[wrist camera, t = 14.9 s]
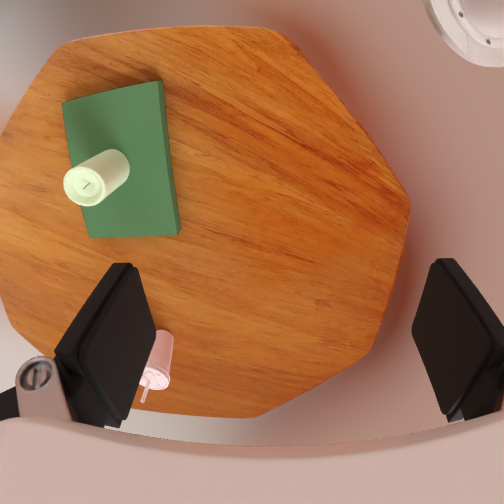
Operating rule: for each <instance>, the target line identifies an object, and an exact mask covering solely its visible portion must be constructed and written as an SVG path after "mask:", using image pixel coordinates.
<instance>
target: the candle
mask: <svg viewBox="0 0 504 504" xmlns="http://www.w3.org/2000/svg"><path fill="white" fill-rule="evenodd" d="M129 172H130V166H129V162H128V160H127V158H126V157H125V155H124V154H123V153H121V152H120V151H118V150H116V149H108V150H105V151H103V152H102V153H100V154H98V155H96V156H94V157H92V158H90V159H88V160H86V161H85V162H83V163H81V164H79V165H77V166H76V167H74V168H72V169H70V170H69V171H68V172H67V173H66V175H65V177H64V181H63V186H64V190H65V192H66V194H67V196H68V197H69V198H70V199H71V200H72V201H73V202H75V203H77V204H79V205H82V206H94V205H96V204H98V203H100V202H101V201H102V200H103V199H104V198H106V197H107V196H108V195H109V194H111V193H112V192H113V191H114V190H115V189H117V188H118V187H119V186H120V185H122V184H123V183H124V182H125V181H126V180H127V178H128V176H129Z"/></svg>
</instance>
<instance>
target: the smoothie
mask: <svg viewBox="0 0 504 504" xmlns="http://www.w3.org/2000/svg"><path fill="white" fill-rule="evenodd" d="M173 344H174V337H173V335H172V334H171V333H170V332H168V331H166V330H157V331H156V340H155V342H154V345H153V348H152V350H151V353H150V356H149V358H148V361H147V364H146V366H145V369H144V372H143V375H142V377H141V380H140V383H139V384H140V385H142V386H144V387H145V390H144V393H143V395H142V398H141V402H142V403H144V401H145V398H146V395H147V392H148V389H154V390H161V389H165V388H166V387H167V386H168V384H169V381H170V376H169V371H170V363H171V357H172V350H173Z"/></svg>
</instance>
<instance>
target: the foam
mask: <svg viewBox="0 0 504 504" xmlns="http://www.w3.org/2000/svg"><path fill="white" fill-rule="evenodd" d="M62 109H63V117H64V124H65V130H66V136H67V142H68V148H69V154H70V159H71V164H72V168H74V167H76V166H77V165H79V164H81V163H83V162H85V161H86V160H88V159H90V158H92V157H94V156H96V155H98V154H100V153H102V152H103V151H105V150H108V149H116V150H118V151H120V152H121V153H123V154H124V155H125V157H126V158H127V160H128V162H129V166H130V172H129V176H128V178H127V180H126V181H125V182H124V183H123V184H122V185H120V186H119V187H118V188H117V189H115V190H114V191H113V192H112V193H111V194H109V195H108V196H107V197H106V198H104V199H103V200H102V201H101V202H100V203H98V204H96V205H94V206H82V205H81V208H82V212H83V216H84V220H85V224H86V227H87V231H88V234H89V238H111V237H138V236H170V235H178V233H179V231H180V230H181V225H180V219H179V212H178V206H177V199H176V192H175V185H174V178H173V170H172V163H171V155H170V146H169V138H168V129H167V120H166V110H165V99H164V88H163V81H152V82H146V83H141V84H136V85H131V86H126V87H122V88H117V89H113V90H108V91H104V92H100V93H96V94H93V95H89V96H85V97H81V98H78V99H74V100H71V101H68V102H64V103H62Z"/></svg>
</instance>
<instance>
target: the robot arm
mask: <svg viewBox="0 0 504 504" xmlns="http://www.w3.org/2000/svg"><path fill="white" fill-rule="evenodd" d="M448 3H449V7H450V9H451V11H452V13H453V15H454V17H455V19H456V21H457V22H458V24H459V25H460V26H461V28H462V29H463V30H464V31H465V32H466V33H467V34H468V36H470V37H471V38H472V39H473V40H474V41H476V42H477V43H479V44H481V45H483V46H485V47H489V48H502V47H504V0H448ZM412 336H413V338H414V341H415V343H416V346H417V348H418V351H419V353H420V355H421V358H422V361H423V363H424V366H425V368H426V371H427V374H428V376H429V379H430V381H431V384H432V387H433V389H434V392H435V395H436V398H437V401H438V404H439V407H440V410H441V412H442V413H443V414H444V415H445V414H446V417H447V420H448V422H453V421H457V420H461V419H462V418H463V417H464V420H465V421H464V422H460V423H456V424H452V425H448V426H444V427H439V428H435V429H431V430H426V431H421V432H417V433H412V434H407V435H401V436H396V437H389V438H382V439H375V440H369V441H359V442H351V443H340V444H329V445H313V446H287V447H286V446H285V447H284V446H283V447H262V446H261V447H260V446H232V445H215V444H203V443H193V442H184V441H176V440H168V439H161V438H154V437H148V436H143V435H137V434H131V433H125V432H120V431H114V430H110V429H105V428H104V426H105V425H106V426H111V427H115V428H120V425H121V422H122V420H126V419H127V417H128V414H129V411H130V408H131V405H132V403H133V400H134V397H135V394H136V391H137V388H138V386H139V383H140V380H141V377H142V375H143V372H144V369H145V366H146V364H147V361H148V358H149V356H150V353H151V350H152V348H153V345H154V342H155V340H156V328H155V325H154V322H153V319H152V316H151V313H150V309H149V306H148V303H147V299H146V296H145V293H144V289H143V286H142V282H141V278H140V275H139V271H138V269H137V268H136V267H133V265H132V264H131V263H113V264H112V265H111V267H110V268H109V270H108V271H107V272H106V274H105V275H104V276H103V278H102V279H101V281H100V282H99V283H98V285H97V286H96V288H95V289H94V291H93V292H92V293H91V295H90V296H89V298H88V299H87V301H86V302H85V304H84V305H83V307H82V308H81V310H80V311H79V313H78V314H77V316H76V317H75V319H74V320H73V322H72V323H71V325H70V326H69V328H68V329H67V331H66V332H65V334H64V336H63V337H62V339H61V340H60V342H59V344H58V345H57V347H56V348H55V350H54V352H55V354H56V356H55V358H54V359H53V360H52V359H51V358H50V357H47V356H37V357H34V358H31V359H30V360H28V361H26V362H25V363H24V364H23V365H22V366H21V368H20V369H19V370H18V373H17V375H16V382H15V384H16V386H15V387H13V388H11V389H9V390H7V391H5V392H2V393H0V504H504V326H503V325H502V323H501V322H500V320H499V319H498V317H497V316H496V314H495V313H494V312H493V310H492V309H491V307H490V306H489V304H488V303H487V302H486V300H485V299H484V297H483V296H482V294H481V293H480V292H479V290H478V289H477V288H476V286H475V285H474V284H473V283H472V281H471V280H470V279H469V277H468V276H467V275H466V273H465V272H464V271H463V269H462V268H461V267H460V266H459V264H458V263H457V262H456V261H455V260H454V259H453V258H438V259H437V260H436V261H435V263H432V264H431V266H430V269H429V273H428V276H427V280H426V284H425V287H424V290H423V294H422V297H421V300H420V303H419V306H418V309H417V312H416V316H415V318H414V321H413V324H412Z"/></svg>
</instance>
